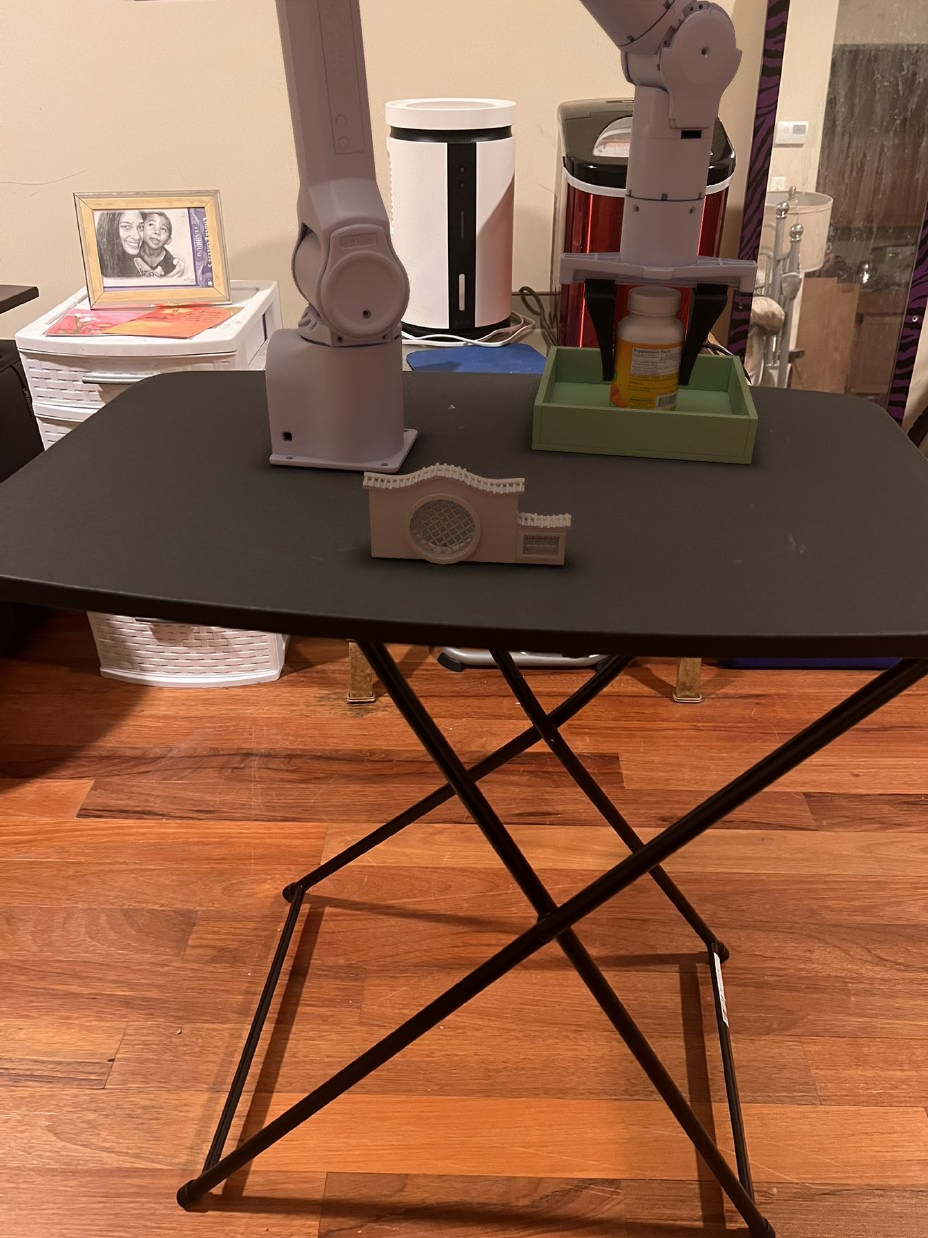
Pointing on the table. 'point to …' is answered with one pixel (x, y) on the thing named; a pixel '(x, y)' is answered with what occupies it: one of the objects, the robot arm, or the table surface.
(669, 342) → the supplement bottle
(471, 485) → the garden wall model
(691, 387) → the basket
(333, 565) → the table surface
